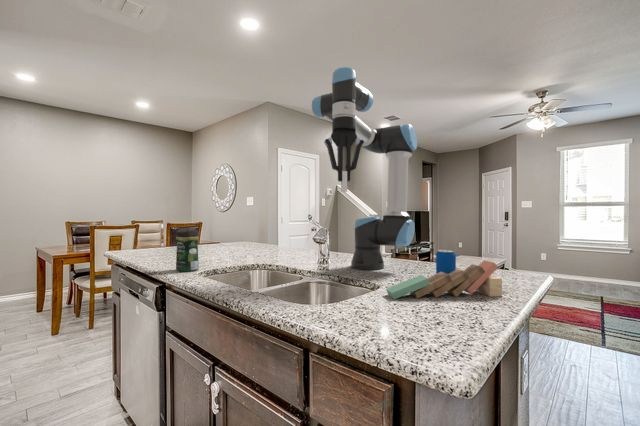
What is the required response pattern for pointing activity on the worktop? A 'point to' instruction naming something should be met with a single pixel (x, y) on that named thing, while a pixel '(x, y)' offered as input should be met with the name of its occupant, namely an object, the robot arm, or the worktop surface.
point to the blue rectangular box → (445, 261)
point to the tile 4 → (473, 274)
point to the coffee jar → (187, 250)
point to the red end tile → (488, 268)
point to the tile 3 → (451, 282)
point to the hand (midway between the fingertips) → (344, 191)
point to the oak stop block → (491, 286)
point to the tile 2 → (433, 284)
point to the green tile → (407, 286)
